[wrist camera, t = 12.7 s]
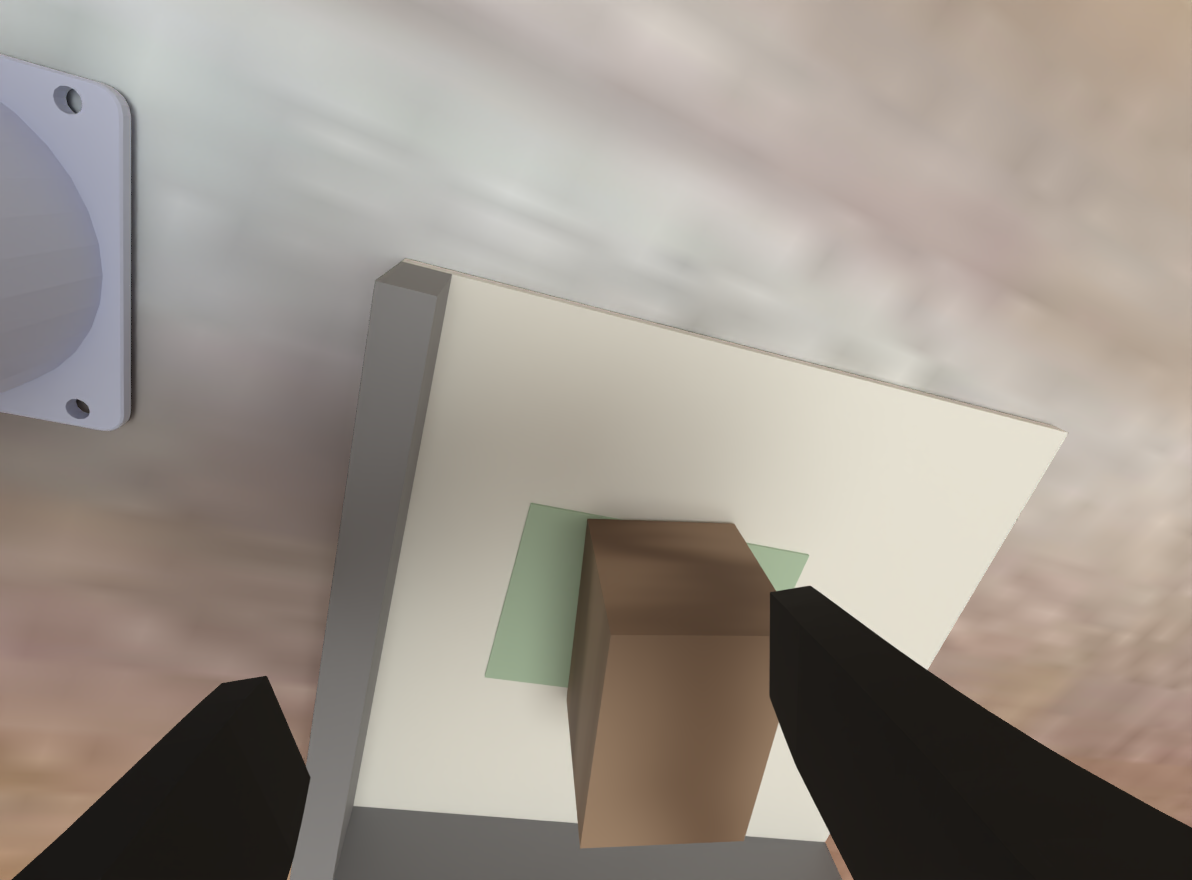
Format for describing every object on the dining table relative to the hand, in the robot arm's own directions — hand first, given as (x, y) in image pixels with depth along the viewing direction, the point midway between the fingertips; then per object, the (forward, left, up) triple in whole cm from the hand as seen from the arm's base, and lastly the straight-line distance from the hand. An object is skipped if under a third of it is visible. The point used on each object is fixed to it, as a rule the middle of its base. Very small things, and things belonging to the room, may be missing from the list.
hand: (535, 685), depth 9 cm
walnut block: (+5, -5, -9) cm, 11 cm away
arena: (+6, -6, -9) cm, 13 cm away
